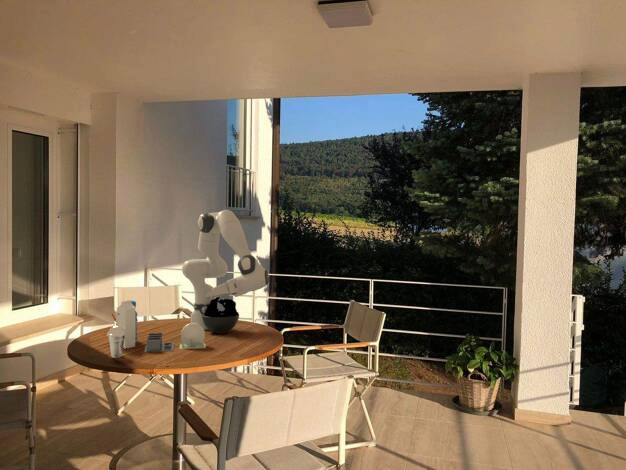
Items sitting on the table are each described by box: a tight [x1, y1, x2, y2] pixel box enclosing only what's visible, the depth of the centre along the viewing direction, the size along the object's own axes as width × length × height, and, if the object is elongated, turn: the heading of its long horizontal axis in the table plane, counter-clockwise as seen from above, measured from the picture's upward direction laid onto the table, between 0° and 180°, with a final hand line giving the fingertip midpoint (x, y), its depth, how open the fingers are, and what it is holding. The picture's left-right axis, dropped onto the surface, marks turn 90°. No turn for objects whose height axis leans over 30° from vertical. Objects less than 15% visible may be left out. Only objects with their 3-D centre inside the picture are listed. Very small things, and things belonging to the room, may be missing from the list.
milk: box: [116, 299, 136, 350], centre depth 251 cm, size 6×6×22 cm
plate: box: [180, 322, 206, 347], centre depth 250 cm, size 2×11×11 cm, turn 103°
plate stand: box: [179, 339, 207, 350], centre depth 250 cm, size 9×12×5 cm
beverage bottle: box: [131, 300, 139, 343], centre depth 262 cm, size 8×8×20 cm
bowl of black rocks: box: [202, 297, 240, 334], centre depth 286 cm, size 20×20×19 cm
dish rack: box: [143, 332, 176, 353], centre depth 247 cm, size 16×13×6 cm
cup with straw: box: [106, 312, 127, 359], centre depth 233 cm, size 8×9×20 cm
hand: (208, 296), depth 251 cm, fingers open, 8 cm apart
